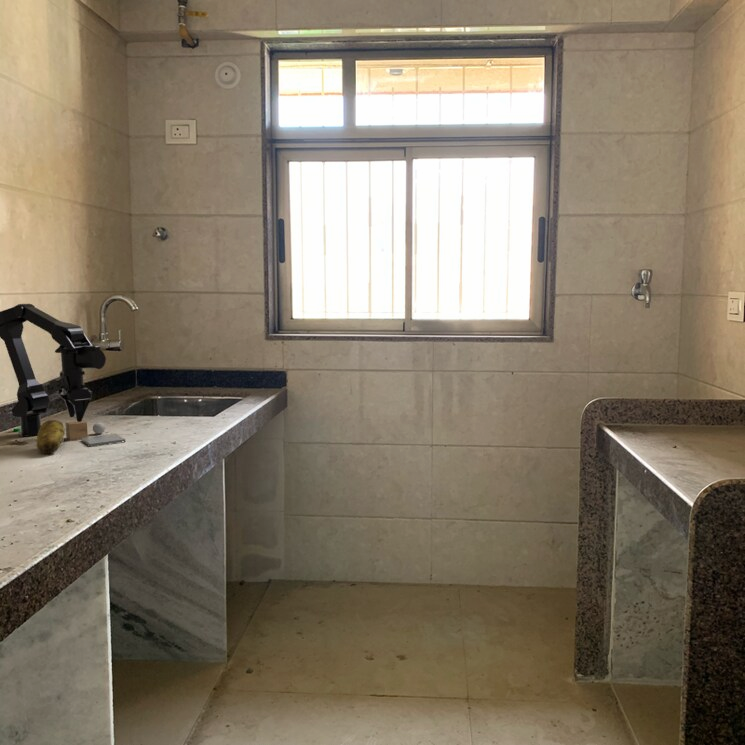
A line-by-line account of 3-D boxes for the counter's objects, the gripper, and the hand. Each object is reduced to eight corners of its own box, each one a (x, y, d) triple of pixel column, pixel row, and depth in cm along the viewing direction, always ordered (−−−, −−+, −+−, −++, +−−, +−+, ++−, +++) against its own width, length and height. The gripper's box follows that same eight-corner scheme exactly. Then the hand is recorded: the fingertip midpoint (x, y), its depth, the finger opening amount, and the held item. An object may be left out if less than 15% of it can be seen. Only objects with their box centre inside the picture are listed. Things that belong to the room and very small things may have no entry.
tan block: (66, 438, 217) (65, 421, 216) (83, 435, 220) (82, 419, 219) (70, 440, 213) (69, 424, 212) (87, 438, 216) (86, 422, 215)
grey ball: (91, 433, 222) (90, 422, 222) (103, 432, 225) (102, 420, 224) (94, 435, 220) (94, 424, 219) (106, 434, 222) (106, 422, 221)
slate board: (81, 440, 212) (81, 438, 212) (115, 436, 218) (115, 433, 218) (90, 446, 204) (89, 444, 204) (125, 441, 210) (125, 439, 210)
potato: (25, 456, 194) (23, 427, 193) (46, 445, 207) (44, 418, 206) (55, 455, 194) (53, 426, 193) (74, 445, 207) (73, 417, 206)
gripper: (36, 367, 217) (40, 417, 219) (50, 373, 202) (53, 427, 204) (75, 364, 223) (78, 413, 225) (91, 370, 208) (94, 422, 210)
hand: (75, 419), depth 216 cm, fingers open, 9 cm apart
